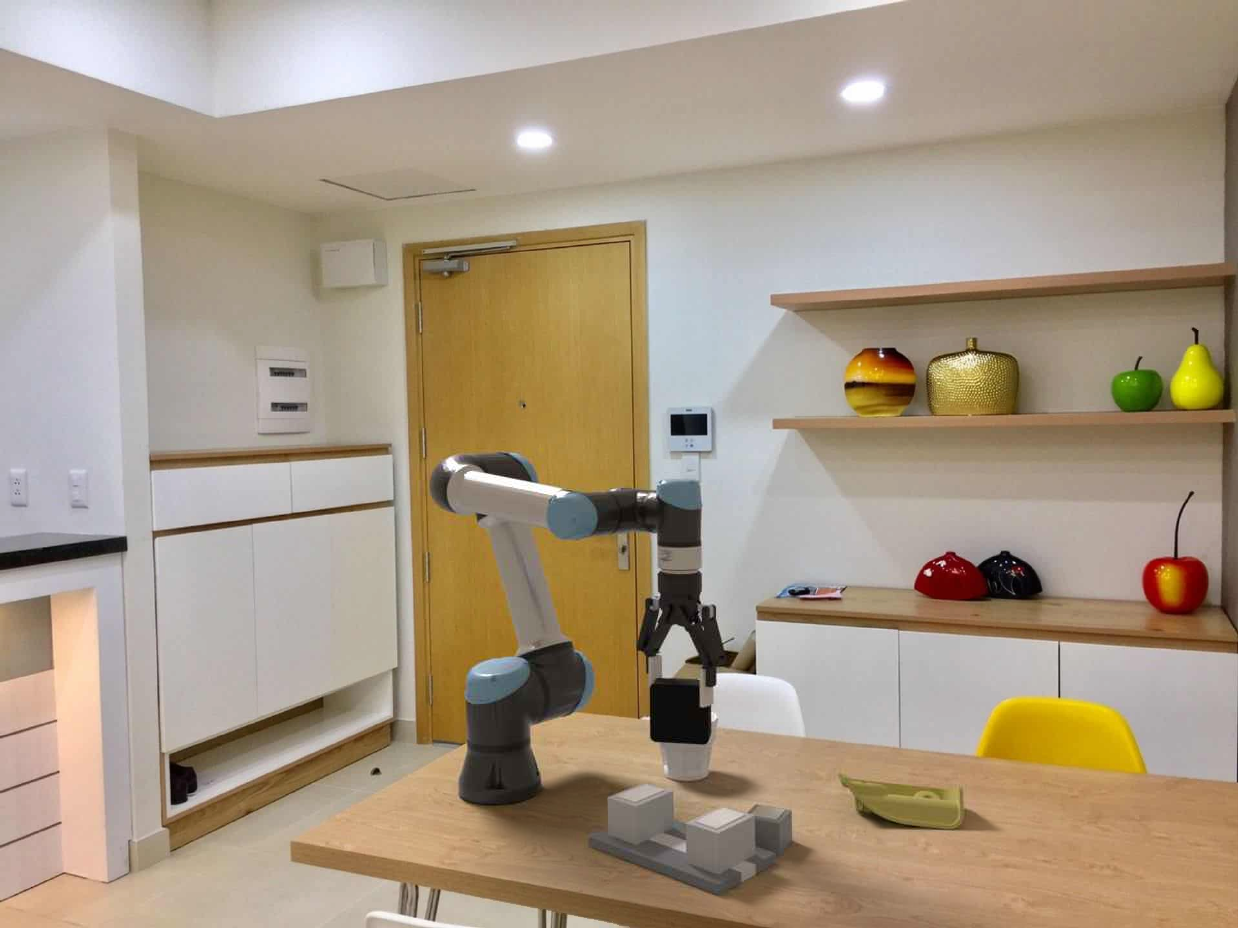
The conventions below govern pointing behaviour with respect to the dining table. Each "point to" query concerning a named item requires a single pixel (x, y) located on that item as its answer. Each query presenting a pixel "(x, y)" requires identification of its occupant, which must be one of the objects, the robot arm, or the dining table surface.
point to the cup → (688, 757)
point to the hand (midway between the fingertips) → (680, 699)
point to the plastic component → (908, 802)
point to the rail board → (682, 840)
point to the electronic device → (678, 712)
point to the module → (772, 827)
